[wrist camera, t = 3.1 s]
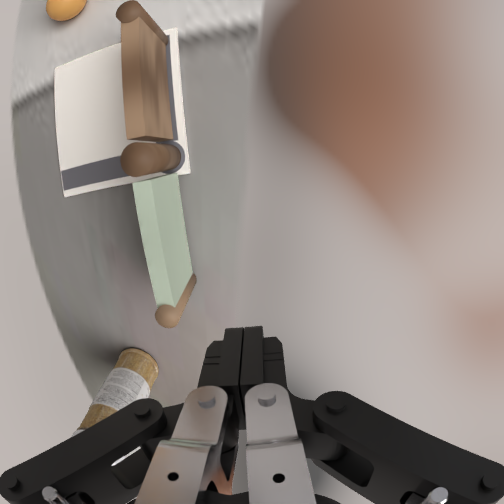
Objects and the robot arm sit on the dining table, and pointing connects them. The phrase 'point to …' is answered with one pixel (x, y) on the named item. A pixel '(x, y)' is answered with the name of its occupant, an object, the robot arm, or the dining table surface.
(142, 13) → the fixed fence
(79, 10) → the figurine
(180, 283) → the swing panel
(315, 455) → the robot arm
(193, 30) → the dining table surface
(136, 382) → the sprinkles bottle
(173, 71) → the card
